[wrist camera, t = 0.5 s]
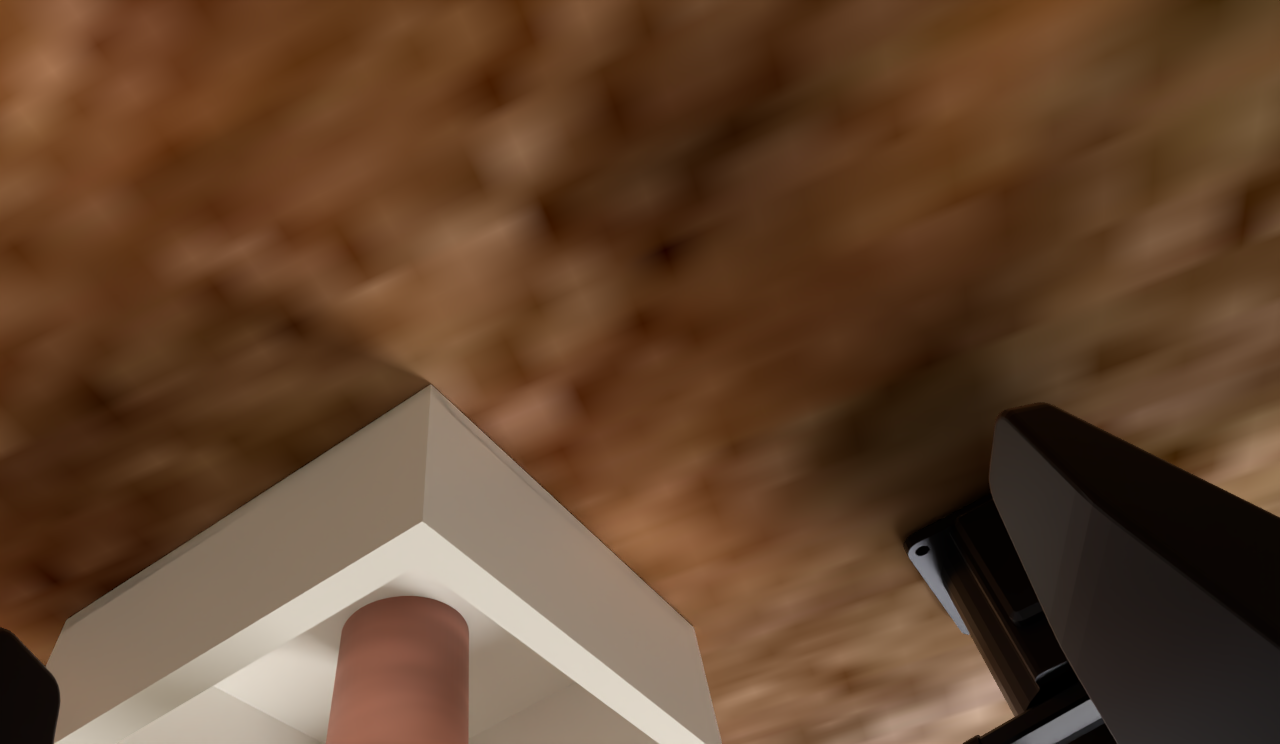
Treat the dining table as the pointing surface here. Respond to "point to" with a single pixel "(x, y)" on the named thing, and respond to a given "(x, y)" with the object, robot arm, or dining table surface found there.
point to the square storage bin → (377, 569)
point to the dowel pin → (402, 675)
